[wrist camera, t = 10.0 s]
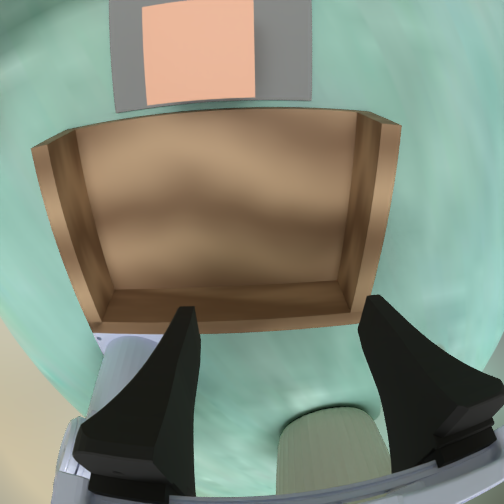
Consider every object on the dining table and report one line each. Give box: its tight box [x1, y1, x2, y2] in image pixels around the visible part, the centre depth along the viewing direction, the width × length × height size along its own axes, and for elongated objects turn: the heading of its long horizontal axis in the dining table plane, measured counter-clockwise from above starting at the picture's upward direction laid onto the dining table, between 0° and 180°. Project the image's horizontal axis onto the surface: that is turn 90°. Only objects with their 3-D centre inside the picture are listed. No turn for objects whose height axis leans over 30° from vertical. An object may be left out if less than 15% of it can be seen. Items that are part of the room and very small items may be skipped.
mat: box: [109, 0, 312, 113], centre depth 15 cm, size 10×12×1 cm
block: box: [142, 0, 255, 106], centre depth 13 cm, size 4×4×6 cm
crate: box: [31, 107, 402, 334], centre depth 20 cm, size 14×20×4 cm
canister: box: [276, 407, 392, 504], centre depth 31 cm, size 18×18×21 cm
